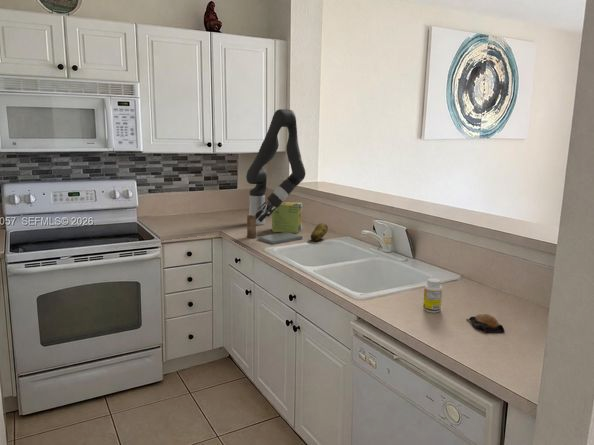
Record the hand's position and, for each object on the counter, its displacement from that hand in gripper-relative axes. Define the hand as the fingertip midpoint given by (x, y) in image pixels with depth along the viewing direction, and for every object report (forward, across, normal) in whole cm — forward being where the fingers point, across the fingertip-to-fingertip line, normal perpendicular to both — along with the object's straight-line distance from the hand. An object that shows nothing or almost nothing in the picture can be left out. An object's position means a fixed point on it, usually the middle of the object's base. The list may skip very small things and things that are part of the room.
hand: (257, 219), depth 253 cm
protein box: (-8, -11, +22) cm, 25 cm away
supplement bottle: (-11, +117, +25) cm, 120 cm away
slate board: (0, +8, +14) cm, 16 cm away
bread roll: (-16, +133, +31) cm, 138 cm away
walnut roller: (+9, 0, +5) cm, 10 cm away
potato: (-13, +15, +28) cm, 34 cm away
